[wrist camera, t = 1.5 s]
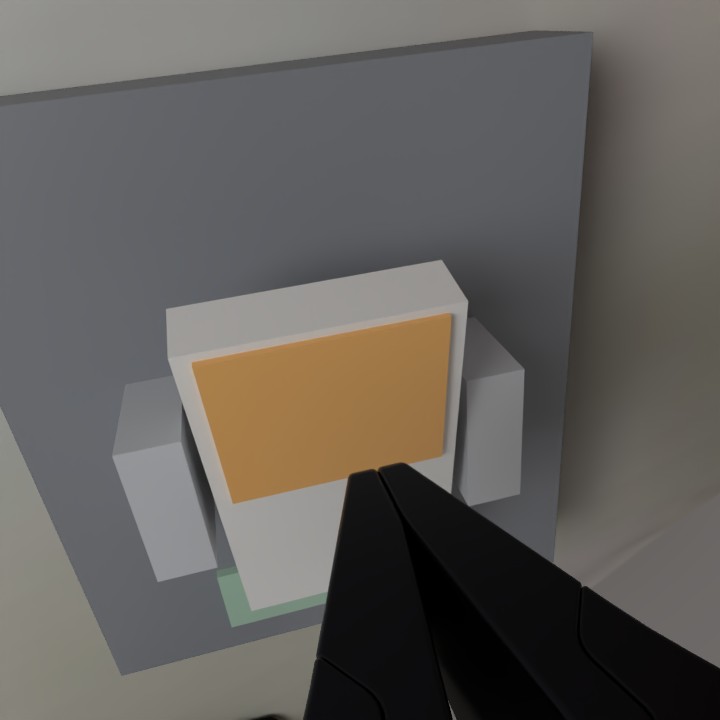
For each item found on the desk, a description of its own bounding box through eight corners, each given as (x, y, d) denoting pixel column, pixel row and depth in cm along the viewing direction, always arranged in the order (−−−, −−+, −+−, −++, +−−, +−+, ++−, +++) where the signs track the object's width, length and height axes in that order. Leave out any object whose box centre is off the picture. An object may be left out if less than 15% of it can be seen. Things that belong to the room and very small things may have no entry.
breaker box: (518, 510, 27) (599, 631, 21) (129, 606, 24) (111, 771, 19) (535, 30, 18) (681, 33, 12) (-74, 105, 15) (-216, 150, 10)
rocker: (428, 519, 21) (446, 566, 19) (245, 563, 20) (252, 616, 18) (441, 259, 14) (471, 305, 13) (165, 309, 13) (168, 363, 12)
